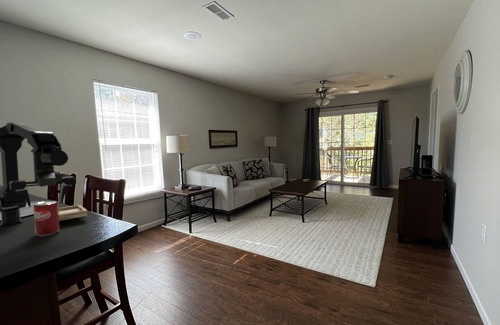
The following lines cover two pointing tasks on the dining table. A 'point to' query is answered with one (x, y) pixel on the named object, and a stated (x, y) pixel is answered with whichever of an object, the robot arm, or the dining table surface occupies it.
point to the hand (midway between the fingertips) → (46, 204)
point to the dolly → (72, 212)
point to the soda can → (46, 218)
